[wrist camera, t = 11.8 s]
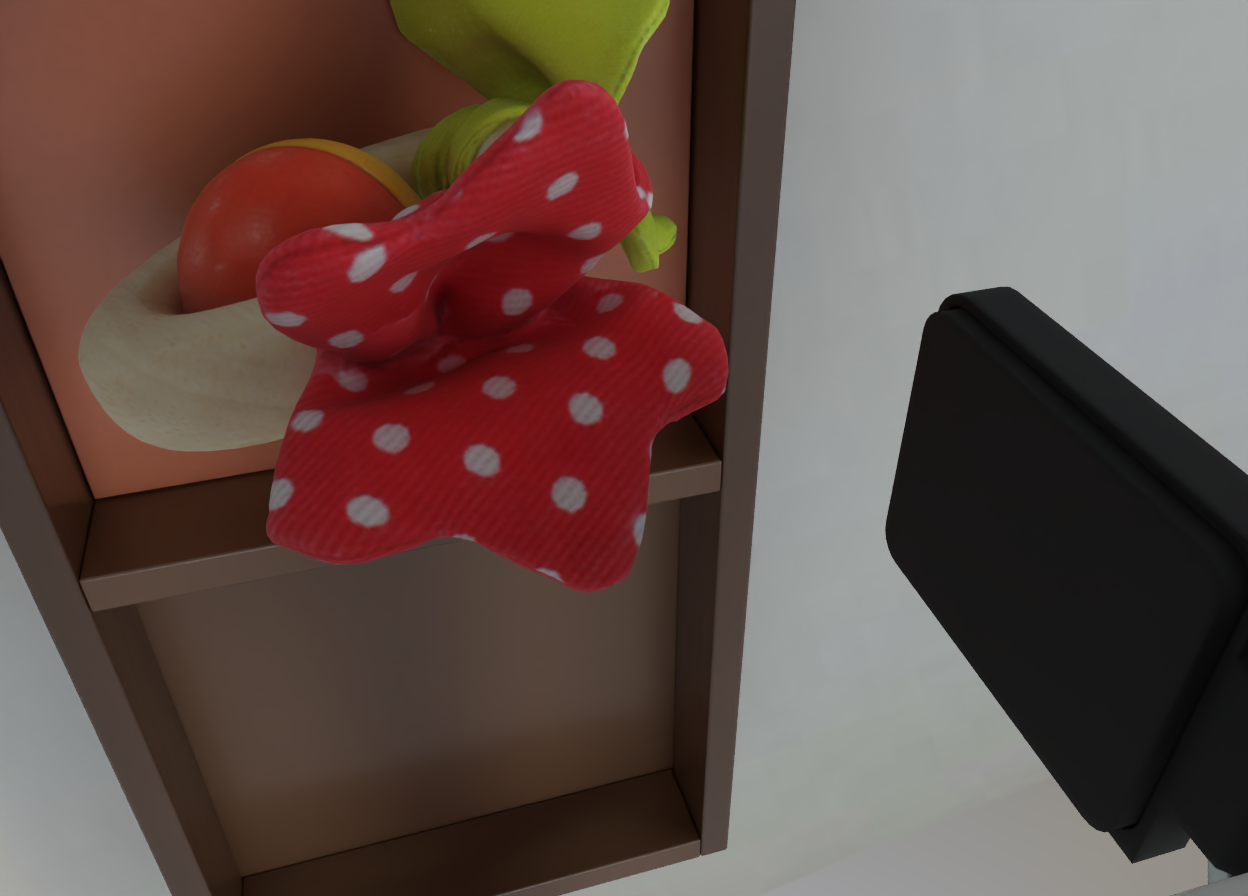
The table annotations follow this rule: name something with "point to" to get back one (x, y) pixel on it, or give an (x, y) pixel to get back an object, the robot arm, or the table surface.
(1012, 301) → the robot arm
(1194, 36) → the table surface
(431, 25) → the bird rattle
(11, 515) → the wooden divided tray
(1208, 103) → the table surface
